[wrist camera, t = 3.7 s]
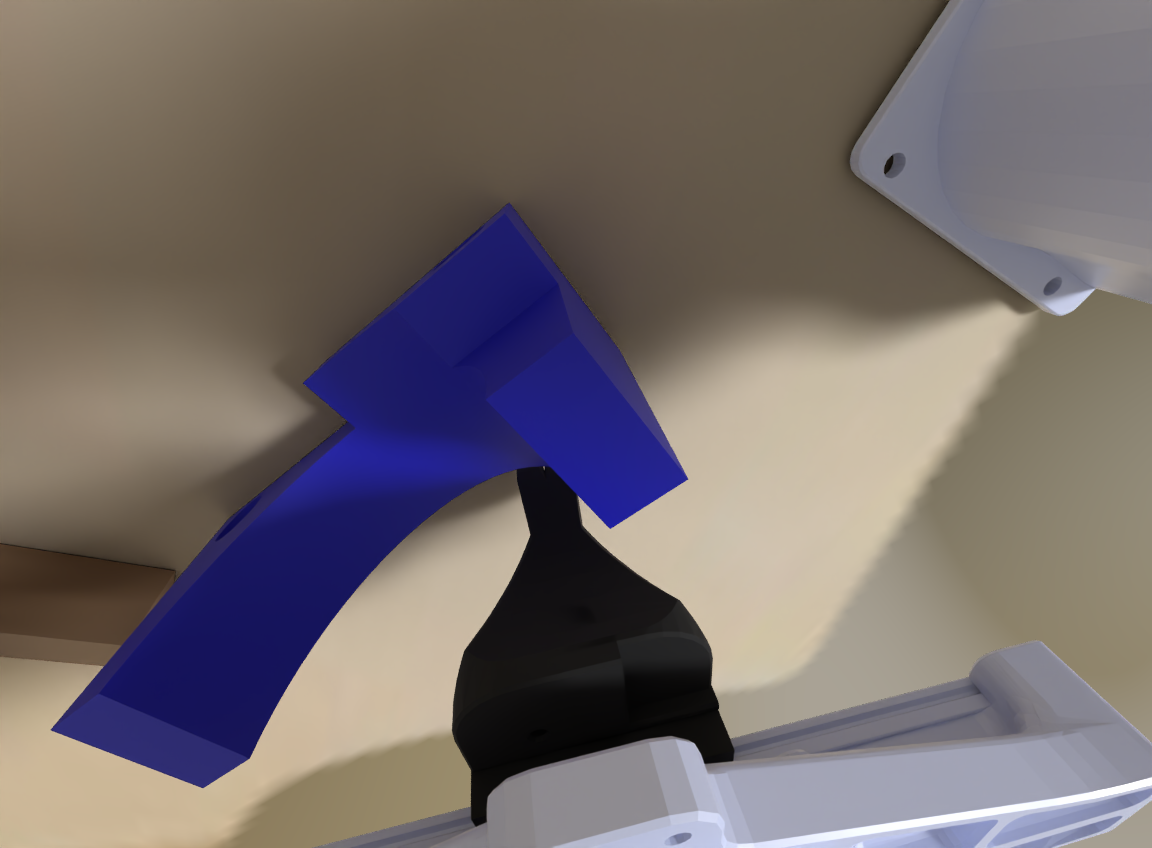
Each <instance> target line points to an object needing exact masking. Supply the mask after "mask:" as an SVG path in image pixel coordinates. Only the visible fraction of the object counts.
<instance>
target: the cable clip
mask: <svg viewBox="0 0 1152 848" xmlns="http://www.w3.org/2000/svg"><path fill="white" fill-rule="evenodd" d="M303 384H305V385H306V386H307V387H308V388H309V389H310V390H312V391H313V392H314V393H315V394H316V395H317V396H319V397H320V398H321V399H322V400H323V401H324V402H326V403H327V404H328V405H329V406H330V407H332V408H333V409H334V410H335V411H336V412H337V413H339V414H340V415H341V416H342V417H343V418H344V419H346V420H347V421H348V422H347V423H346V424H345V425H343V426H342V427H341V428H340V429H338V430H337V431H336V432H335V433H334V434H332V435H331V436H330V437H329V438H327V439H326V440H325V441H324V442H322V443H321V444H320V445H319V446H318V447H316V448H315V449H314V450H313V451H311V452H310V453H309V454H308V455H306V456H305V457H304V458H303V459H302V460H300V461H299V462H298V463H297V464H295V465H294V466H293V467H292V468H290V469H289V470H288V471H287V472H286V473H284V474H283V475H282V476H281V477H279V478H278V479H277V480H276V481H274V482H273V483H272V484H271V485H270V486H268V487H267V488H266V489H265V490H263V491H262V492H261V493H260V494H258V495H257V496H256V497H255V498H254V499H252V500H251V501H250V502H249V503H247V504H246V505H245V506H244V507H242V508H241V509H240V510H239V511H238V512H236V513H235V514H234V515H233V516H231V517H230V518H229V519H228V520H227V521H226V522H225V523H224V525H223V526H222V527H221V528H220V529H219V531H218V532H217V533H216V534H215V535H214V537H213V538H212V539H211V540H210V541H209V542H208V544H207V545H206V546H205V547H204V548H203V550H202V551H201V552H200V553H199V554H198V556H197V557H196V558H195V559H194V560H193V561H192V563H191V564H190V565H189V566H188V567H187V569H186V570H185V571H184V572H183V573H182V575H181V576H180V577H179V578H178V579H177V580H176V582H175V583H174V584H173V585H172V586H171V588H170V589H169V590H168V591H167V592H166V594H165V595H164V596H163V597H162V598H161V599H160V601H159V602H158V603H157V604H156V605H155V607H154V608H153V609H152V610H151V611H150V613H149V614H148V615H147V616H146V617H145V618H144V620H143V621H142V622H141V623H140V624H139V626H138V627H137V628H136V629H135V630H134V631H133V633H132V634H131V635H130V636H129V637H128V639H127V640H126V641H125V642H124V643H123V645H122V646H121V647H120V648H119V649H118V650H117V652H116V653H115V654H114V655H113V656H112V658H111V659H110V660H109V661H108V662H107V664H106V665H105V666H104V667H103V668H102V669H101V671H100V672H99V673H98V674H97V675H96V677H95V678H94V679H93V680H92V681H91V683H90V684H89V685H88V686H87V687H86V688H85V690H84V691H83V692H82V693H81V694H80V696H79V697H78V698H77V699H76V700H75V702H74V703H73V704H72V705H71V706H70V707H69V709H68V710H67V711H66V712H65V713H64V715H63V716H62V717H61V718H60V719H59V721H58V722H57V723H56V724H55V725H54V726H53V728H52V729H51V731H54V732H57V733H59V734H62V735H64V736H67V737H70V738H72V739H75V740H78V741H80V742H83V743H85V744H88V745H91V746H93V747H96V748H99V749H101V750H104V751H106V752H109V753H112V754H114V755H117V756H120V757H122V758H125V759H128V760H130V761H133V762H135V763H138V764H141V765H143V766H146V767H149V768H151V769H154V770H156V771H159V772H162V773H164V774H167V775H170V776H172V777H175V778H177V779H180V780H183V781H185V782H188V783H191V784H193V785H196V786H199V787H201V788H204V787H206V786H207V785H209V784H210V783H212V782H214V781H215V780H217V779H218V778H220V777H221V776H223V775H225V774H226V773H228V772H229V771H231V770H232V769H234V768H235V767H237V766H239V765H240V764H242V763H243V762H245V761H246V760H248V759H250V757H251V755H252V753H253V751H254V749H255V746H256V744H257V742H258V740H259V738H260V736H261V734H262V732H263V730H264V728H265V727H266V725H267V723H268V721H269V719H270V717H271V715H272V713H273V711H274V710H275V708H276V706H277V704H278V703H279V701H280V699H281V697H282V696H283V694H284V692H285V690H286V689H287V687H288V685H289V684H290V682H291V680H292V679H293V677H294V676H295V674H296V672H297V671H298V669H299V667H300V666H301V664H302V663H303V661H304V660H305V658H306V657H307V655H308V654H309V652H310V651H311V649H312V648H313V646H314V645H315V643H316V642H317V640H318V639H319V638H320V636H321V635H322V633H323V632H324V631H325V629H326V628H327V626H328V625H329V624H330V622H331V621H332V620H333V618H334V617H335V616H336V614H337V613H338V612H339V610H340V609H341V608H342V606H343V605H344V604H345V603H346V602H347V600H348V599H349V598H350V597H351V595H352V594H353V593H354V592H355V590H356V589H357V588H358V587H359V586H360V585H361V583H362V582H363V581H364V580H365V579H366V578H367V577H368V575H369V574H370V573H371V572H372V571H373V570H374V569H375V568H376V567H377V566H378V564H379V563H380V562H381V561H382V560H383V559H384V558H385V557H386V556H387V555H388V554H389V553H390V552H391V551H392V550H393V549H394V548H395V547H396V546H397V545H398V544H399V543H400V542H401V541H402V540H403V539H404V538H405V537H407V536H408V535H409V534H410V533H411V532H412V531H413V530H414V529H415V528H417V527H418V526H419V525H420V524H421V523H422V522H424V521H425V520H426V519H427V518H428V517H430V516H431V515H432V514H434V513H435V512H436V511H437V510H439V509H440V508H441V507H443V506H444V505H446V504H447V503H448V502H450V501H451V500H453V499H454V498H456V497H457V496H459V495H461V494H462V493H464V492H465V491H467V490H469V489H471V488H472V487H474V486H476V485H478V484H480V483H482V482H484V481H486V480H488V479H490V478H492V477H495V476H498V475H500V474H503V473H505V472H509V471H513V470H516V469H521V468H527V467H539V466H545V467H551V468H552V469H553V470H554V471H555V472H556V473H557V474H558V475H559V476H560V477H561V478H562V479H563V480H564V482H565V483H566V484H567V485H568V486H569V487H570V488H571V489H572V490H573V491H574V492H575V493H576V494H577V495H578V496H579V497H580V498H581V499H582V500H583V501H584V502H585V503H586V504H587V505H588V506H589V507H590V508H591V510H592V511H593V512H594V513H595V514H596V515H597V516H598V517H599V518H600V519H601V520H602V521H603V522H604V523H605V524H606V525H607V526H608V527H609V528H610V529H611V528H612V527H614V526H615V525H617V524H619V523H620V522H622V521H623V520H625V519H626V518H628V517H630V516H631V515H633V514H634V513H636V512H637V511H639V510H641V509H642V508H644V507H645V506H647V505H648V504H650V503H652V502H653V501H655V500H656V499H658V498H659V497H661V496H663V495H664V494H666V493H667V492H669V491H670V490H672V489H674V488H675V487H677V486H678V485H680V484H681V483H683V482H685V481H686V480H688V478H687V476H686V474H685V472H684V470H683V468H682V466H681V465H680V463H679V461H678V459H677V457H676V455H675V453H674V451H673V449H672V448H671V446H670V444H669V442H668V440H667V438H666V436H665V434H664V433H663V431H662V429H661V427H660V425H659V423H658V421H657V419H656V418H655V416H654V414H653V412H652V410H651V408H650V406H649V404H648V402H647V401H646V399H645V397H644V395H643V393H642V391H641V389H640V387H639V386H638V384H637V382H636V380H635V378H634V376H633V374H632V372H631V371H630V369H629V367H628V365H627V363H626V361H625V359H624V357H623V355H622V354H621V352H620V350H619V349H618V347H617V346H616V345H615V343H614V342H613V341H612V339H611V338H610V337H609V335H608V334H607V333H606V331H605V330H604V329H603V327H602V326H601V325H600V323H599V322H598V321H597V319H596V318H595V317H594V315H593V314H592V313H591V311H590V310H589V309H588V307H587V306H586V305H585V303H584V302H583V301H582V299H581V298H580V296H579V295H578V294H577V292H576V291H575V290H574V288H573V287H572V286H571V284H570V283H569V282H568V280H567V279H566V278H565V276H564V275H563V274H562V272H561V271H560V270H559V268H558V267H557V266H556V264H555V263H554V262H553V260H552V259H551V258H550V256H549V255H548V254H547V252H546V251H545V250H544V248H543V247H542V246H541V244H540V243H539V242H538V240H537V239H536V238H535V236H534V235H533V233H532V232H531V231H530V229H529V228H528V227H527V225H526V224H525V223H524V221H523V220H522V219H521V217H520V216H519V215H518V213H517V212H516V211H515V209H514V208H513V207H512V205H511V204H510V203H508V204H507V205H506V206H505V207H503V208H502V209H501V210H500V211H499V212H498V213H496V214H495V215H494V216H493V217H492V218H491V219H490V220H488V221H487V222H486V223H485V224H484V225H483V226H481V227H480V228H479V229H478V230H477V231H476V232H474V233H473V234H472V235H471V236H470V237H469V238H468V239H466V240H465V241H464V242H463V243H462V244H461V245H459V246H458V247H457V248H456V249H455V250H454V251H452V252H451V253H450V254H449V255H448V256H447V257H446V258H444V259H443V260H442V261H441V262H440V263H439V264H437V265H436V266H435V267H434V268H433V269H432V270H430V271H429V272H428V273H427V274H426V275H425V276H424V277H422V278H421V279H420V280H419V281H418V282H417V283H415V284H414V285H413V286H412V287H411V288H410V289H408V290H407V291H406V292H405V293H404V294H403V295H402V296H400V297H399V298H398V299H397V300H396V301H395V302H393V303H392V304H391V305H390V306H389V307H388V308H386V309H385V310H384V311H383V312H382V313H381V314H380V315H378V316H377V317H376V318H375V319H374V320H373V321H371V322H370V323H369V324H368V325H367V326H366V327H365V328H363V329H362V330H361V331H360V332H359V333H358V334H356V335H355V336H354V337H353V338H352V339H351V340H349V341H348V342H347V343H346V344H345V345H344V346H343V347H341V348H340V349H339V350H338V351H337V352H336V353H334V354H333V355H332V356H331V357H330V358H329V359H327V360H326V361H325V362H324V363H323V364H322V365H321V366H320V367H319V368H318V369H317V370H316V371H315V372H314V373H313V374H312V375H311V376H310V377H309V378H308V379H307V380H306V381H305V382H304V383H303Z"/></svg>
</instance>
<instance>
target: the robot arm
mask: <svg viewBox="0 0 1152 848" xmlns="http://www.w3.org/2000/svg"><path fill="white" fill-rule="evenodd" d="M892 155H893V165H892V167H891V169H890V170H889V171H888V172H887V173H886V174H884V166H885V164H886V161H887V160H888V159H889V158H890V157H891V156H892ZM850 165H851V170H852V171H853V173H854V174H855V175H856V176H857V177H859V178H860V179H861V180H863V181H864V182H865V183H867V184H868V185H870V186H871V187H872V188H874V189H875V190H877V191H878V192H879V193H881V194H882V195H884V196H885V197H886V198H888V199H889V200H890V201H892V202H893V203H895V204H896V205H897V206H899V207H900V208H902V209H903V210H904V211H906V212H907V213H909V214H910V215H911V216H913V217H914V218H915V219H917V220H918V221H920V222H921V223H922V224H924V225H925V226H927V227H928V228H929V229H931V230H932V231H934V232H935V233H936V234H938V235H939V236H941V237H942V238H943V239H945V240H946V241H947V242H949V243H950V244H952V245H953V246H954V247H956V248H957V249H959V250H960V251H961V252H963V253H964V254H966V255H967V256H968V257H970V258H971V259H972V260H974V261H975V262H977V263H978V264H979V265H981V266H982V267H984V268H985V269H986V270H988V271H989V272H991V273H992V274H993V275H995V276H996V277H997V278H999V279H1000V280H1002V281H1003V282H1004V283H1006V284H1007V285H1009V286H1010V287H1011V288H1013V289H1014V290H1016V291H1017V292H1018V293H1020V294H1021V295H1023V296H1024V297H1025V298H1027V299H1028V300H1029V301H1031V302H1032V303H1034V304H1035V305H1036V306H1038V307H1039V308H1041V309H1042V310H1043V311H1045V312H1048V313H1051V314H1054V315H1057V316H1061V315H1065V314H1067V313H1069V312H1071V311H1073V310H1074V309H1075V308H1077V307H1078V306H1079V305H1080V304H1081V303H1082V302H1083V301H1084V300H1085V299H1086V298H1087V297H1088V296H1089V295H1090V294H1091V293H1092V292H1093V291H1094V290H1095V289H1096V288H1097V289H1100V290H1104V291H1108V292H1111V293H1115V294H1118V295H1122V296H1126V297H1129V298H1133V299H1136V300H1140V301H1144V302H1147V303H1151V304H1152V0H950V1H949V3H948V4H947V6H946V7H945V9H944V10H943V12H942V13H941V15H940V16H939V18H938V19H937V21H936V22H935V24H934V25H933V27H932V28H931V30H930V31H929V33H928V34H927V36H926V38H925V39H924V41H923V42H922V44H921V45H920V47H919V48H918V50H917V51H916V53H915V54H914V56H913V57H912V59H911V60H910V62H909V63H908V65H907V66H906V68H905V69H904V71H903V72H902V74H901V75H900V77H899V79H898V80H897V82H896V83H895V85H894V86H893V88H892V89H891V91H890V92H889V94H888V95H887V97H886V98H885V100H884V101H883V103H882V104H881V106H880V107H879V109H878V110H877V112H876V113H875V115H874V116H873V118H872V120H871V121H870V123H869V124H868V126H867V127H866V129H865V130H864V132H863V133H862V135H861V136H860V138H859V139H858V141H857V142H856V144H855V146H854V148H853V150H852V152H851V158H850ZM517 482H518V486H519V490H520V494H521V498H522V502H523V506H524V510H525V514H526V518H527V522H528V527H529V531H530V538H529V540H528V543H527V546H526V548H525V551H524V553H523V555H522V558H521V560H520V562H519V564H518V566H517V568H516V570H515V572H514V574H513V577H512V579H511V580H510V582H509V584H508V586H507V588H506V590H505V591H504V593H503V595H502V596H501V598H500V600H499V601H498V603H497V605H496V606H495V608H494V609H493V611H492V613H491V614H490V616H489V617H488V619H487V620H486V622H485V623H484V625H483V626H482V627H481V629H480V630H479V631H478V633H477V634H476V636H475V637H474V638H473V640H472V641H471V642H470V644H469V645H468V646H467V648H466V649H465V651H464V654H463V657H462V661H461V665H460V668H459V673H458V677H457V682H456V688H455V694H454V701H453V723H452V732H453V736H454V740H455V742H456V744H457V746H458V747H459V749H460V751H461V753H462V755H463V757H464V758H465V760H466V762H467V764H468V765H469V767H470V769H471V807H468V808H463V809H459V810H456V811H452V812H448V813H445V814H441V815H437V816H433V817H429V818H425V819H421V820H417V821H414V822H410V823H406V824H402V825H398V826H394V827H391V828H387V829H383V830H379V831H375V832H372V833H367V834H364V835H360V836H356V837H352V838H348V839H345V840H341V841H337V842H333V843H329V844H325V845H321V846H318V847H314V848H1058V847H1060V846H1063V845H1067V844H1070V843H1073V842H1076V841H1080V840H1083V839H1086V838H1090V837H1093V836H1096V835H1099V834H1102V833H1106V832H1109V831H1111V830H1113V829H1114V828H1115V827H1117V826H1118V825H1119V824H1121V823H1122V822H1123V821H1125V820H1126V819H1127V818H1129V817H1130V816H1131V815H1133V814H1134V813H1135V812H1137V811H1138V810H1139V809H1141V808H1142V807H1143V806H1145V805H1146V804H1147V803H1149V802H1150V801H1151V800H1152V743H1151V742H1150V741H1149V740H1148V739H1147V738H1146V737H1145V736H1144V735H1143V734H1141V733H1140V732H1139V731H1138V730H1137V729H1136V728H1135V727H1134V726H1133V725H1132V724H1131V723H1129V722H1128V721H1127V720H1126V719H1125V718H1124V717H1123V716H1122V715H1121V714H1120V713H1119V712H1117V711H1116V710H1115V709H1114V708H1113V707H1112V706H1111V705H1110V704H1109V703H1108V702H1107V701H1105V700H1104V699H1103V698H1102V697H1101V696H1100V695H1099V694H1098V693H1097V692H1095V691H1094V690H1093V689H1092V688H1091V687H1090V686H1089V685H1088V684H1087V683H1086V682H1085V681H1084V680H1083V679H1081V678H1080V677H1079V676H1078V675H1077V674H1076V673H1075V672H1074V671H1073V670H1072V669H1070V668H1069V667H1068V666H1067V665H1066V664H1065V663H1064V662H1063V661H1062V660H1061V659H1060V658H1059V657H1057V656H1056V655H1055V654H1054V653H1053V652H1052V651H1051V650H1050V649H1049V648H1048V647H1047V646H1045V645H1044V644H1043V643H1042V642H1041V641H1036V640H1034V641H1030V642H1026V643H1022V644H1018V645H1014V646H1011V647H1006V648H1003V649H999V650H995V651H992V652H989V653H987V654H985V655H983V656H982V657H980V658H978V659H977V660H976V662H975V663H974V664H973V666H972V668H971V670H970V672H969V677H966V678H962V679H958V680H954V681H951V682H947V683H943V684H939V685H936V686H931V687H927V688H924V689H920V690H916V691H913V692H908V693H904V694H901V695H897V696H893V697H889V698H885V699H881V700H878V701H874V702H870V703H866V704H862V705H859V706H855V707H851V708H847V709H843V710H840V711H835V712H832V713H828V714H824V715H820V716H816V717H812V718H809V719H805V720H801V721H797V722H794V723H789V724H786V725H782V726H778V727H774V728H770V729H766V730H763V731H759V732H755V733H751V734H747V735H744V736H740V737H736V738H732V739H730V738H729V735H728V733H727V730H726V728H725V725H724V723H723V721H722V718H721V716H720V713H719V711H718V709H719V703H718V700H717V698H716V695H715V693H714V690H713V688H712V686H711V679H712V661H713V658H712V652H711V648H710V646H709V644H708V641H707V639H706V638H705V636H704V634H703V633H702V631H701V629H700V628H699V626H698V624H697V623H696V621H695V620H694V619H693V617H692V616H691V614H690V613H689V612H688V610H687V609H686V608H685V606H684V605H683V604H682V603H681V601H680V600H678V599H676V598H675V597H673V596H671V595H669V594H668V593H666V592H664V591H663V590H661V589H659V588H658V587H656V586H654V585H653V584H651V583H650V582H648V581H647V580H645V579H644V578H642V577H641V576H640V575H638V574H637V573H635V572H634V571H633V570H631V569H630V568H629V567H627V566H626V565H625V564H624V563H622V562H621V561H620V560H619V559H617V558H616V557H615V556H613V555H612V554H611V553H610V552H609V551H608V550H607V549H606V548H604V547H603V546H602V545H601V544H600V543H599V542H598V541H597V540H596V539H595V538H594V537H593V536H592V535H591V534H590V533H589V532H588V531H587V530H586V529H585V528H584V527H583V525H582V518H581V512H580V506H579V500H578V495H577V494H576V493H575V492H574V491H573V490H572V489H571V488H570V487H569V486H568V485H567V484H566V483H565V482H564V480H563V479H562V478H561V477H560V476H559V475H558V474H557V473H556V472H555V471H554V470H553V469H552V468H551V467H545V470H544V468H543V466H539V467H527V468H521V469H517Z"/></svg>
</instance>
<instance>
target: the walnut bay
mask: <svg viewBox="0 0 1152 848" xmlns="http://www.w3.org/2000/svg"><path fill="white" fill-rule="evenodd" d="M174 579H175V571H171V570H165V569H158V568H152V567H146V566H139V565H133V564H126V563H120V562H113V561H107V560H100V559H94V558H88V557H81V556H75V555H68V554H62V553H55V552H49V551H43V550H36V549H30V548H23V547H17V546H10V545H4V544H0V657H11V658H22V659H33V660H44V661H55V662H66V663H77V664H88V665H99V666H105V665H106V664H107V662H108V661H109V660H110V659H111V658H112V656H113V655H114V654H115V653H116V652H117V650H118V649H119V648H120V647H121V646H122V645H123V643H124V642H125V641H126V640H127V639H128V637H129V636H130V635H131V634H132V633H133V631H134V630H135V629H136V628H137V627H138V626H139V624H140V623H141V622H142V621H143V620H144V618H145V617H146V616H147V615H148V614H149V613H150V611H151V610H152V609H153V608H154V607H155V605H156V604H157V603H158V602H159V601H160V599H161V598H162V597H163V596H164V595H165V594H166V592H167V591H168V590H169V589H170V588H171V586H172V585H173V584H174Z"/></svg>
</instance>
